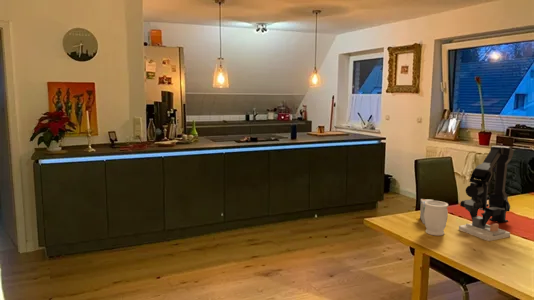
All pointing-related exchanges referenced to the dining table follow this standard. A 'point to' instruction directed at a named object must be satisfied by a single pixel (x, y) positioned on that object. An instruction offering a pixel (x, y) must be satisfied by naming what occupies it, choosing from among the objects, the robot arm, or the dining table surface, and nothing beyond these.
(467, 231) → the socket plate
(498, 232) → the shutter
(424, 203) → the light bulb box
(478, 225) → the plug
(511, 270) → the dining table surface
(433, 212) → the jar
